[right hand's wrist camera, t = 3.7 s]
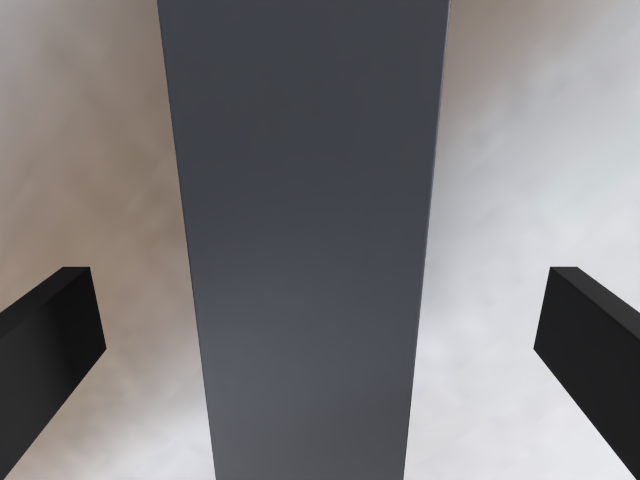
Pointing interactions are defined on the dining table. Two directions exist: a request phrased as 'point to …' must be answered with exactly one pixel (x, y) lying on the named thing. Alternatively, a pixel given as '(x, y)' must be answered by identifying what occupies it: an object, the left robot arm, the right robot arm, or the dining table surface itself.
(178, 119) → the beam
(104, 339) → the right robot arm
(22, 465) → the dining table surface
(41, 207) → the dining table surface
